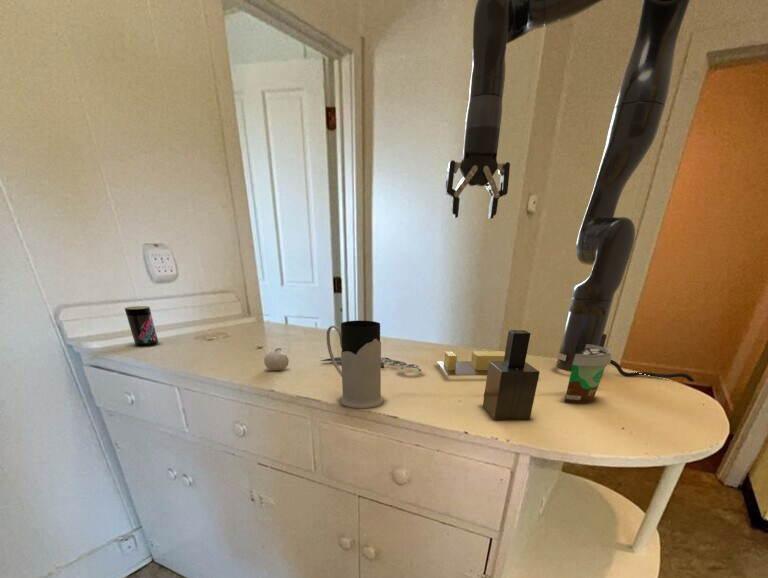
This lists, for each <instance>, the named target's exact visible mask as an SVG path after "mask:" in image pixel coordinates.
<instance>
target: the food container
mask: <svg viewBox="0 0 768 578" xmlns="http://www.w3.org/2000/svg"><path fill="white" fill-rule="evenodd" d="M611 360H612V354H611V350H610V349H608V348H607V347H605V346H604V347H600V346H595V345H588V344H586V347H585V350H584V351H581V352H580V354H575V357H574V361H573V364H572V365H573V366H572V371H570V376H569V380H568V384H567V388H566V393H565V397H564V401H563V403H568V404H588V403H591V402H593V401H594V399H595V396H596V393H597V391H598V387H599V385H600V382H601V380H602V378H603V374H604V371H605V369H606V367H607V366H606V365H610V362H611Z"/></svg>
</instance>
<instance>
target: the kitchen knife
mask: <svg viewBox="0 0 768 578" xmlns="http://www.w3.org/2000/svg"><path fill="white" fill-rule="evenodd" d="M530 338H531V332H529V331H527V330H525V329H508V332H507V337H506V344H505V350H504V351H505V356H504V362H503V364H504V365H505V366H506V367H507V368H513V369H515V370H518V369H517V368H524V366H525V362H526V361H527V355H528V349H529V343H530Z"/></svg>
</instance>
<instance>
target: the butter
mask: <svg viewBox="0 0 768 578" xmlns="http://www.w3.org/2000/svg"><path fill="white" fill-rule="evenodd" d="M504 356H505V350H498V351H497V350H496V351H495V350H494V351H493V350H488V351H486V350H484V351H483V350H481V351H480V350H479V351H477V350H476V351H475V350H472V352H471V359H470V361H471V366H472V367H473V368H474V369H475V370H488V366H489V361H504Z"/></svg>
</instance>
